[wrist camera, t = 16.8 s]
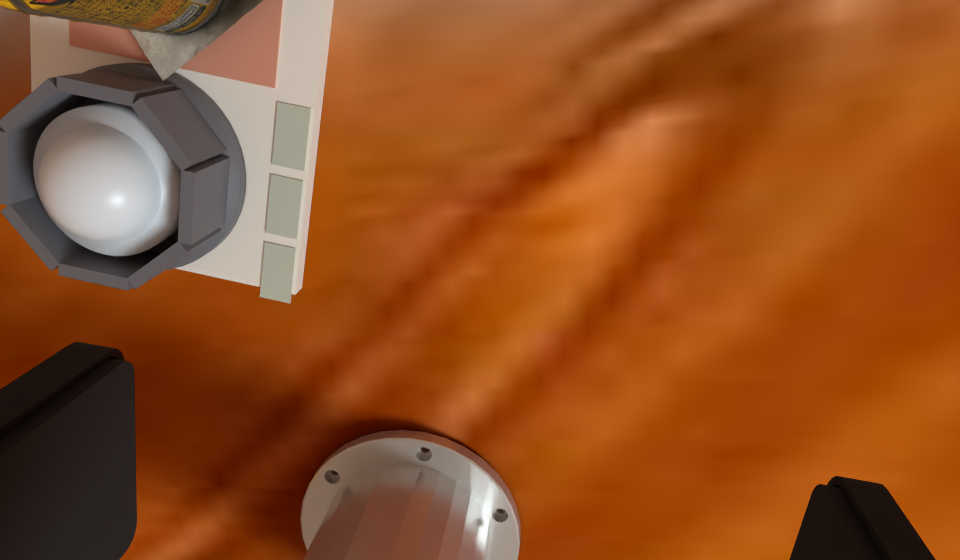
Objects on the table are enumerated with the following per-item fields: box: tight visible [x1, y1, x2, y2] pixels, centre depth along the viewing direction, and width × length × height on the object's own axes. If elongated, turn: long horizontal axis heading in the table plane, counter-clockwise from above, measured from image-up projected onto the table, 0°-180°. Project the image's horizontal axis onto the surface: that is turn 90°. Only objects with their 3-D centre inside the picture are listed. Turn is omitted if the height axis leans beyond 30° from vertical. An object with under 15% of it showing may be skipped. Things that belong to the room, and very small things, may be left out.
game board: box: [0, 0, 334, 303], centre depth 34 cm, size 20×14×6 cm
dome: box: [33, 102, 181, 256], centre depth 34 cm, size 7×7×5 cm
